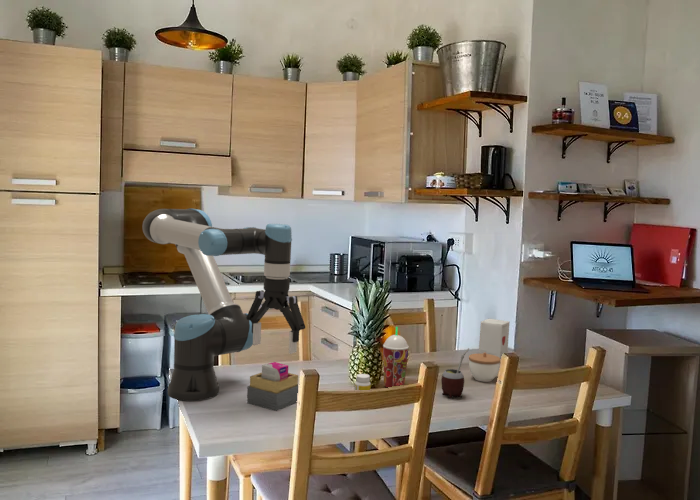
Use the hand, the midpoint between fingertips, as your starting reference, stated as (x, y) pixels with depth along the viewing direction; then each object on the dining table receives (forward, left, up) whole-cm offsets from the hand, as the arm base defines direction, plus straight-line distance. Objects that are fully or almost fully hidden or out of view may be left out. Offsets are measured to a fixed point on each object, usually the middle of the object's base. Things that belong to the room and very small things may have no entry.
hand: (274, 348), depth 186 cm
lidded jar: (+41, +64, -16) cm, 78 cm away
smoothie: (+21, +36, -16) cm, 45 cm away
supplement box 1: (+1, -1, -16) cm, 16 cm away
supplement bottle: (+21, +16, -16) cm, 31 cm away
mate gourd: (+40, +40, -16) cm, 59 cm away
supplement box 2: (+34, +93, -16) cm, 100 cm away
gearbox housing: (0, 0, -16) cm, 16 cm away
